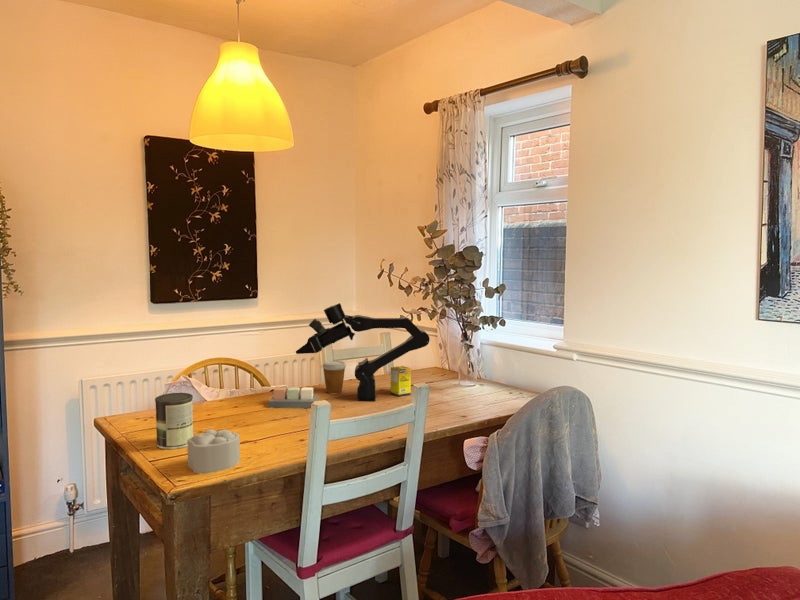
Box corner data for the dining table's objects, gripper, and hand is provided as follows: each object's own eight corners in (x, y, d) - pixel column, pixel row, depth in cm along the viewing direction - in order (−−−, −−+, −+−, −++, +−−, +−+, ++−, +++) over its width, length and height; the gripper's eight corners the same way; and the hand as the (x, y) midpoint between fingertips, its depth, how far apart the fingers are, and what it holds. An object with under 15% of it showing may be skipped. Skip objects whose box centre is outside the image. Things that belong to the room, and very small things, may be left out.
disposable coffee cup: (348, 393, 228) (348, 364, 227) (325, 395, 224) (325, 365, 223) (342, 388, 237) (342, 360, 236) (320, 390, 233) (319, 361, 232)
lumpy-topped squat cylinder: (185, 463, 152) (184, 432, 151) (232, 453, 160) (232, 423, 159) (196, 476, 144) (196, 442, 143) (246, 465, 151) (245, 433, 150)
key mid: (300, 397, 213) (299, 387, 213) (298, 400, 209) (298, 390, 209) (289, 397, 213) (289, 387, 213) (287, 400, 209) (287, 389, 209)
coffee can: (149, 448, 163) (147, 400, 162) (167, 437, 173) (166, 392, 172) (183, 450, 162) (182, 402, 161) (199, 438, 172) (198, 393, 171)
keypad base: (317, 400, 216) (317, 394, 216) (313, 408, 206) (313, 401, 206) (274, 400, 216) (274, 394, 216) (268, 407, 206) (268, 401, 206)
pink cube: (286, 397, 213) (286, 387, 213) (284, 400, 209) (284, 389, 209) (276, 397, 213) (276, 387, 213) (273, 400, 209) (273, 389, 209)
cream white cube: (313, 397, 213) (313, 387, 213) (311, 400, 209) (311, 390, 209) (302, 397, 213) (302, 387, 213) (300, 400, 209) (300, 390, 209)
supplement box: (411, 394, 227) (411, 367, 226) (398, 396, 223) (398, 369, 222) (402, 391, 232) (402, 365, 231) (390, 393, 228) (390, 366, 227)
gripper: (327, 314, 225) (292, 330, 225) (323, 316, 207) (284, 334, 206) (339, 339, 226) (304, 355, 225) (336, 343, 207) (297, 361, 207)
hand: (297, 351), depth 216 cm, fingers open, 9 cm apart
